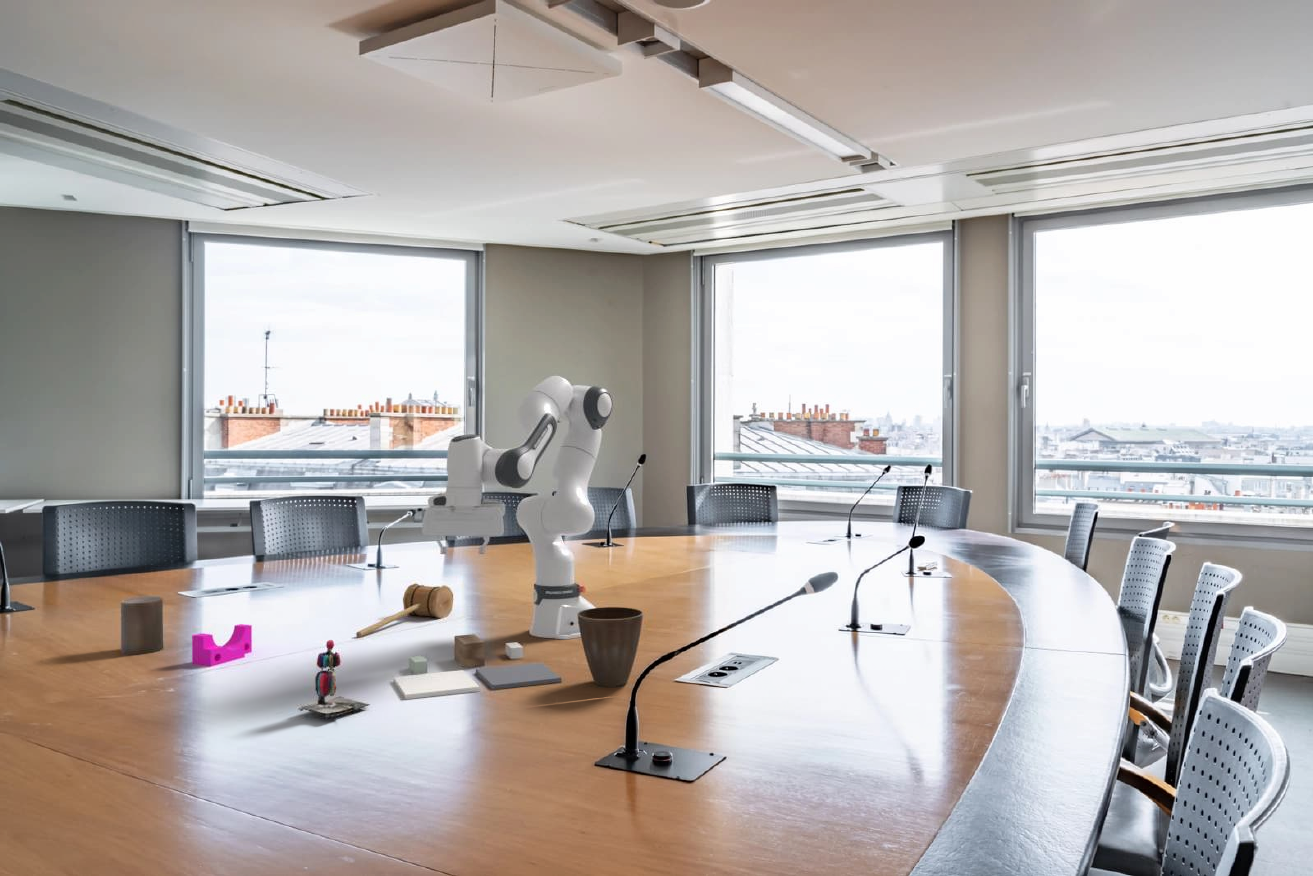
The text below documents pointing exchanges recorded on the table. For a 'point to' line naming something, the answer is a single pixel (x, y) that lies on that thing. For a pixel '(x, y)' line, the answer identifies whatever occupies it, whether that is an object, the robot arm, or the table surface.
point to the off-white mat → (435, 684)
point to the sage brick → (418, 664)
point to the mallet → (420, 604)
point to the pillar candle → (141, 625)
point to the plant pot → (610, 642)
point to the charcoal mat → (517, 675)
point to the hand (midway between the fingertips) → (462, 553)
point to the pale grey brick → (514, 650)
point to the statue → (330, 688)
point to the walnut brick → (469, 651)
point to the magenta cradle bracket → (221, 647)
